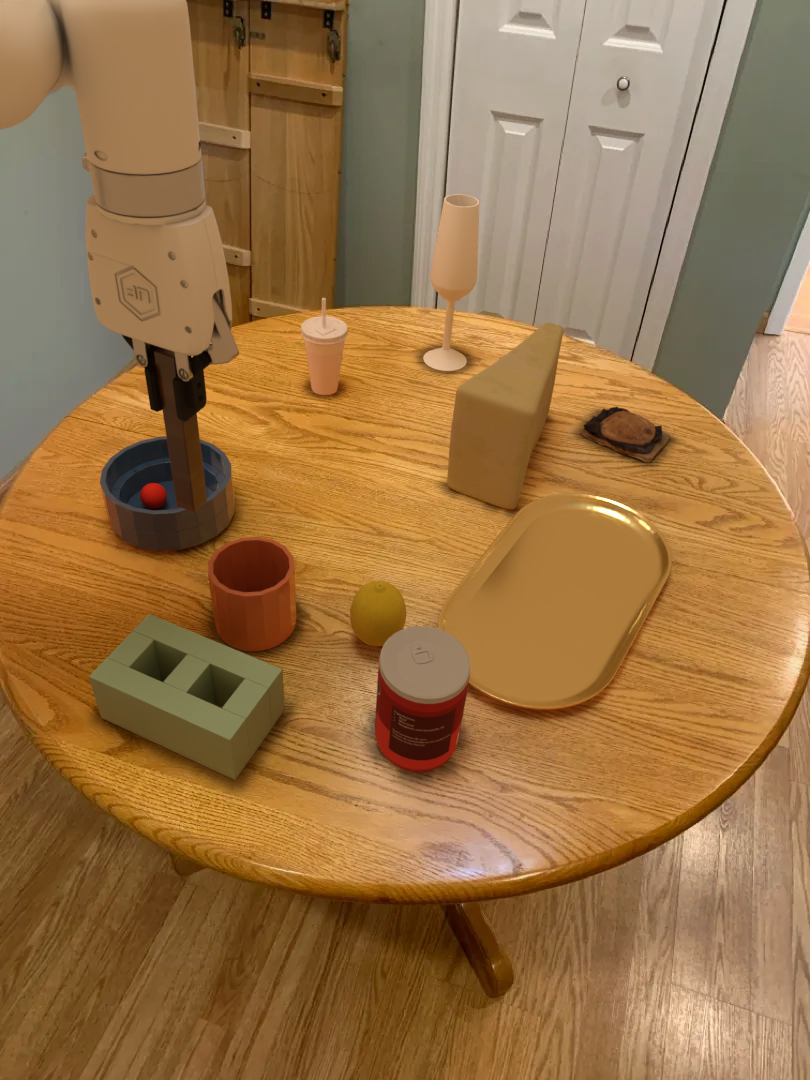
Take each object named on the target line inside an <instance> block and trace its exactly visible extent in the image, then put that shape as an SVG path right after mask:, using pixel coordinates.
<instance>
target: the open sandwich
mask: <svg viewBox="0 0 810 1080" xmlns="http://www.w3.org/2000/svg"><path fill="white" fill-rule="evenodd" d="M579 435H580V436H582V437H583V438H587V440H589V441H593V442H596V443H598V445H600V446H607V447H608V448H610V449H611V450H614V452H618V453H621V454H624V455H627V456H628V457H633V458H636V459H637V460H640V461H643V462H644V463H647V464H648V463H651V462H652V461H653V459H654V458H655V457H656V456H657V455H658V454H659V453H660V451H661V450H662V449H663V448H664V447H665V446H666V445H667V444H668V442H669V441H670V440H671V435H670V434H669V433H667V432H664V431H663V427H662V425H655V423H653V422H652V421H650V420H649V419H648V418H646V417H644V416H642V415H640V414H637V413H634V412H632V411H630V410H628V409H626V408H623V407H619V406H613V407H610V408H608V409H605V408H603V409H602V410H601V411H600V412H598V414H597V415H596V416H592V417H591V419H589V421H587V422H585V424H584V425H583V428H582V429H581V430H580V434H579Z"/></svg>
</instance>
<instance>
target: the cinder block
mask: <svg viewBox="0 0 810 1080" xmlns="http://www.w3.org/2000/svg"><path fill="white" fill-rule="evenodd" d="M283 672H284V671H283V669H282V668H281V667H278V666H276V665H274V664H271V663H269V662H266V661H264V660H261V659H259V658H257V657H254V656H252V655H249V654H247V653H244V652H242V651H241V650H239V649H236V648H234V647H231V646H229V645H225V644H223V643H221V642H219V641H216V640H213V639H211V638H208V637H206V636H204V635H201V634H199V633H196V632H194V631H192V630H189V629H187V628H185V627H182V626H180V625H177V624H175V623H173V622H170V621H168V620H165V619H163V618H161V617H158V616H155V615H153V614H151V613H148V614H147V615H146V616H145V617H144V618H143V619H142V620H141V621H140V622H139V623H138V624H137V626H135V627H134V629H133V630H132V631H131V632H130V633H129V634H128V635H127V636H126V637H125V638H124V639H123V640H122V641H121V642H120V643H119V645H118V646H117V647H116V648H115V649H113V650H112V651H111V653H109V654H108V656H107V657H106V658H105V659H103V661H102V662H101V663H99V665H98V666H97V667H95V669H94V670H93V671H92V672H91V673H90V674H89V675H88V679H89V681H90V685H91V688H92V693H93V695H94V699H95V702H96V706H97V710H98V713H99V716H100V719H102V720H105V721H107V722H109V723H111V724H113V725H115V726H118V727H119V728H122V729H124V730H126V731H129V732H131V733H132V734H134V735H136V736H139V737H141V738H143V739H146V740H148V741H150V742H151V743H155V744H156V745H158V746H160V747H162V748H165V749H168V750H170V751H171V752H173V753H175V754H177V755H180V756H182V757H185V758H186V759H189V760H191V761H193V762H195V763H198V764H199V765H202V766H204V767H206V768H208V769H210V770H213V771H215V772H217V773H219V774H221V775H223V776H225V777H227V778H230V779H232V780H234V781H236V780H237V779H238V777H239V776H240V774H241V773H242V771H243V770H244V768H245V767H246V766H247V764H248V763H249V761H250V760H251V759H252V758H253V756H254V754H255V753H256V751H257V750H258V749H259V748H260V746H261V745H262V743H263V742H264V740H265V739H266V737H267V736H268V734H269V733H270V732H271V730H272V728H273V727H274V726H275V724H276V723H277V722H278V720H279V719H280V718H281V716H282V714H283V713H284V712H285V710H286V709H285V707H286V706H285V692H284V691H285V690H284V689H285V688H284V673H283Z"/></svg>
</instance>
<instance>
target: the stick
mask: <svg viewBox="0 0 810 1080" xmlns="http://www.w3.org/2000/svg"><path fill="white" fill-rule="evenodd" d="M154 357H155V363H156V370H157V376H158V383H159V390H160V396H161V403H162V410H161V411H162V415H163V422H164V423H163V424H164V429H165V436H166V437H167V443H168V450H169V457H170V463H171V470H172V477H173V483H174V490H175V497H176V503H177V506H178V507H181V508H183V509H186V510H189V511H191V512H194V513H195V512H196V511H197V510H198V509H199V508H200V507H201V506H202V505H203V504H205V503H206V502H207V496H206V488H205V479H204V471H203V462H202V454H201V445H200V439H201V438H200V429H199V421H198V412H197V413H196V414H195V415H194V416H192V417H191V418H190V419H189V420H187V421H186V422H184V421H182V420H179V419H178V417H177V412H176V405H175V397H174V390H173V383H172V381H173V379H174V378H175V377H177V376H178V374H177V368H176V361H175V353H174V352H173V351H170V350H167V349H164V348H161V347H159V348H158V349H156V350H155V351H154Z"/></svg>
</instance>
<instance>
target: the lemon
mask: <svg viewBox="0 0 810 1080" xmlns="http://www.w3.org/2000/svg"><path fill="white" fill-rule="evenodd" d="M349 617H350V618H349V620H350V625H351V628H352V631H353V633H354V634H355V635H356V637H357V638H358V640H360V641H361V642H363V643H365V644H366V645H368V646H372V647H383V645H384V644H385V642H386V641H387V640H388V638H390V637H391V636H392V635H393V634H394V633H396V632H398V631H400V630H402V629H405V625H406V620H407V607H406V603H405V599H404V596H403V594H402V593H401V591H400V590H399V589H398V588H397V587H396V586H395V585H394V584H392V583H390V582H387V581H385V580H374V581H370V582H367V583H366V584H364V585H363V586H361V587H360V588H359V589H358V590H357V592H356V593H355V595H354V597H353V599H352V602H351V605H350V611H349Z"/></svg>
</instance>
